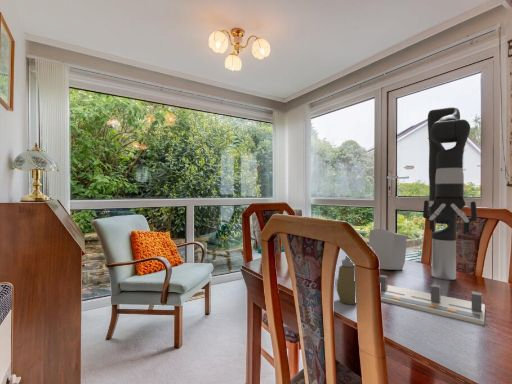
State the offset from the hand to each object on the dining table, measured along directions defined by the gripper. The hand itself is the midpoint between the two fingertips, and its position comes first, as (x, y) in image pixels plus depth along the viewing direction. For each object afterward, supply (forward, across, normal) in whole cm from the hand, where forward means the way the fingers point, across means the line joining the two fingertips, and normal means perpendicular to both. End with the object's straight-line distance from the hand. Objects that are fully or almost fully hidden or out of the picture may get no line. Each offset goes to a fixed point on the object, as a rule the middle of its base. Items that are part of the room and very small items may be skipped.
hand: (448, 233), depth 92 cm
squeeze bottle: (+26, +28, +13) cm, 40 cm away
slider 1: (+24, +21, -3) cm, 32 cm away
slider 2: (+24, -7, -3) cm, 25 cm away
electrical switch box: (+26, +31, -46) cm, 61 cm away
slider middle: (+24, +4, -3) cm, 24 cm away
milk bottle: (+26, +36, -20) cm, 49 cm away
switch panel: (+25, +7, -3) cm, 26 cm away
